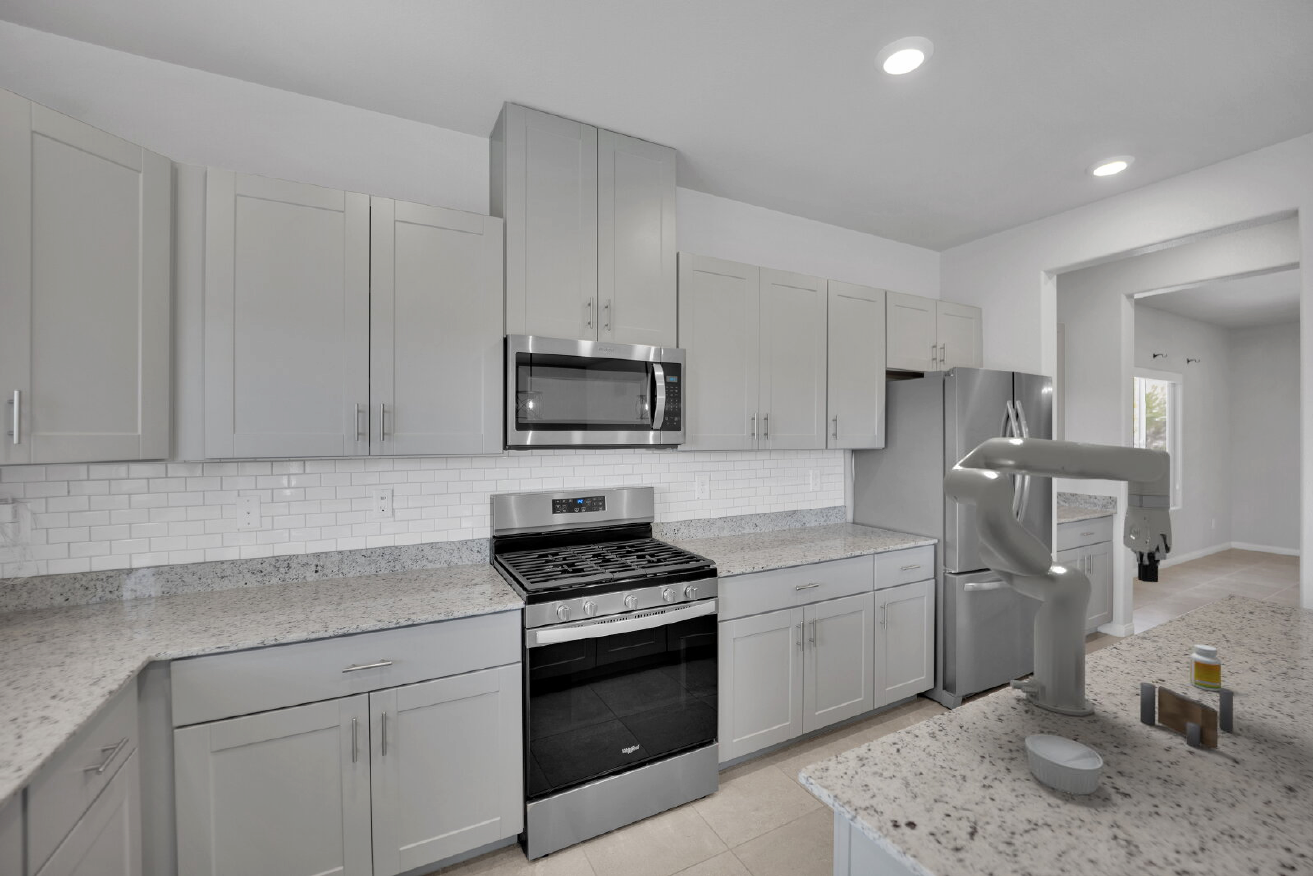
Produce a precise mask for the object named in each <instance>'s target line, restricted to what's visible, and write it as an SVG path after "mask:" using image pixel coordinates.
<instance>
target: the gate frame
mask: <svg viewBox="0 0 1313 876" xmlns="http://www.w3.org/2000/svg"><path fill="white" fill-rule="evenodd" d="M1156 689H1157V688H1156V685H1154V684H1152V683H1149V682H1145V681H1144V682H1140V699H1139V700H1140V701H1139V703H1140V710H1139V711H1140V713H1139V714H1140V715H1139V716H1140V719H1139V720H1140V723H1142V724H1145V725H1147V726H1156ZM1187 744H1188V745H1187ZM1186 745H1187V746H1190V747H1192V746H1193V747H1192V748H1195V747H1197V748H1196V749H1200V748H1201V745H1202V744H1201V726H1200V725H1198V724H1196V723H1192V722H1187V736H1186Z"/></svg>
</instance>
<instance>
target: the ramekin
mask: <svg viewBox="0 0 1313 876" xmlns="http://www.w3.org/2000/svg"><path fill="white" fill-rule="evenodd" d="M1024 748H1025V750H1026V754H1027V755H1026V756H1027V760H1028V767H1029V770H1030V772H1031V773H1032V774H1033V776H1034V777H1035V779H1037V780H1038V781H1040V783H1041V784H1043V783H1044V784H1043V785H1045V784H1046V785H1045V786H1047V785H1048V787H1049V788H1051V787H1053V788H1054V790H1056V789H1057V790H1056V791H1058V790H1060V791H1059V792H1061V791H1063V792H1062V793H1065V792H1069V793H1073V794H1072V795H1075V794H1088V795H1090V793H1091V794H1092V793H1094V792H1095V791H1096V790H1097V789H1098V785H1099V783H1100V779H1101V778H1100V777H1101V773H1102V771H1103V770H1104V760H1103V758H1102V757H1101V756H1100V754H1099V753H1098V752H1096V751H1094V750H1093V749H1092V748H1091V747H1089V746H1087V745H1085V744H1082V743H1080V742H1078V741H1076V740H1072V739H1071V738H1070V739H1069V738H1066V737H1064V736H1059V735H1054V734H1046V733H1045V734H1044V733H1042V734H1041V733H1037V734H1031V735H1029V736H1027V737H1026V738H1025V740H1024ZM1053 788H1052V789H1053ZM1069 793H1068V794H1069Z"/></svg>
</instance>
